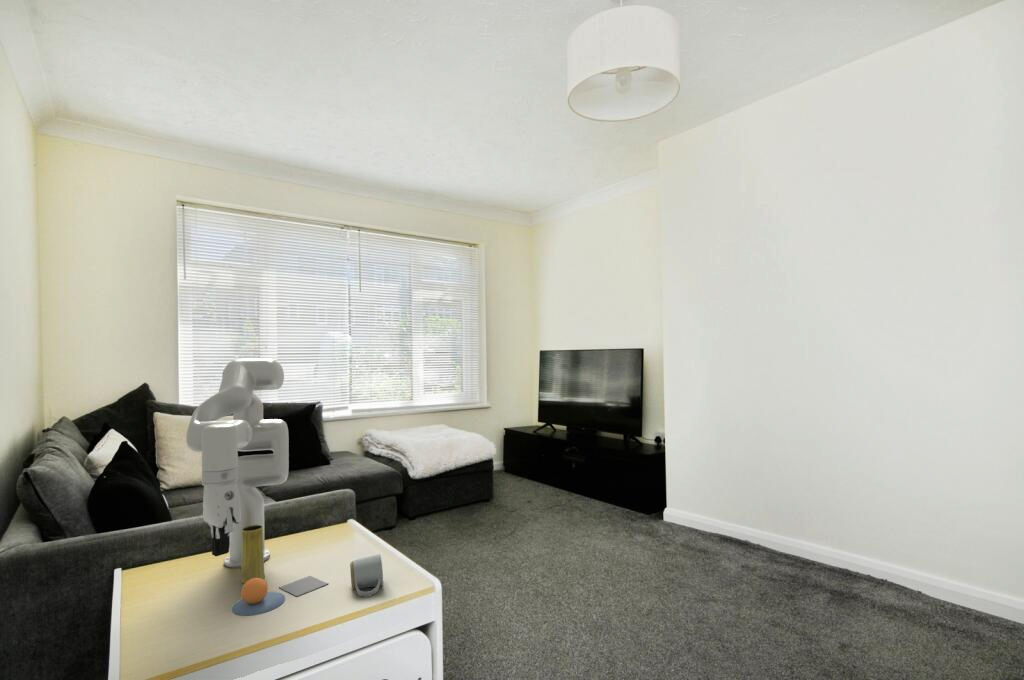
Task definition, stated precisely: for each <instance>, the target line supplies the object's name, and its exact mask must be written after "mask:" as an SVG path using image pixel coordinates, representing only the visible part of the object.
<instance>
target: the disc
mask: <svg viewBox="0 0 1024 680" xmlns="http://www.w3.org/2000/svg"><path fill="white" fill-rule="evenodd" d="M285 601H286V596H285V595H284V594H283V593H281V592H277V591H267V594H266V596H265V598H264V599H263V600H262V601H260V602H259V603H256V604H248V603H246V602H245V601H244V600H243V599H242V598H241V599H239V600H238V601H237V602H235V603H234V604H233V605H232V607H231V611H232V613H233V614H235V615H236V616H247V617H248V616H255V615H261V614H265V613H268V612H270V611H272V610H275V609H277V608H279V607H280V606H282V604H284V603H285Z"/></svg>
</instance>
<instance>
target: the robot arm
mask: <svg viewBox="0 0 1024 680" xmlns="http://www.w3.org/2000/svg"><path fill="white" fill-rule="evenodd" d="M284 380H285V371H284V369H283V367H282V365H281V364H280V363H279V362H278V361H277V360H276V359H273V358H266V357H264V358H240V359H234V360H231V361H230V362H228V363H227V364H226V366H225V368H224V369H223V370H222V378H221V381H220V386H219V389H218V392H217V393H215V394H214V395H211V396H210V397H209V398H207V399H206V400H204V401H203V402H202V403H201V404H199V405H198V406H197V407H196V408H195V410H194V411H193V412H192V415H191V418H190V421H189V423H188V426H187V431H186V437H185V438H186V439H185V440H186V441H185V442H186V444H187V447H188V448H189V449H190V450H191V451H193V452H196V453H199V452H200V453H201V486H203V493H202V495H203V496H202V498H203V499H202V518H203V521H204V522H205V523H207V524H208V526H209V527H210V536H211V555H212V556H214V557H219V556H222V555H225V554H226V555H227V554H228V553H229V555H227V556H226V557H225V558H224V559H223V565H225V566H226V567H228V568H241V561H242V529H243V528H244V527H247V526H252V525H261V526H263V560H264V562H265V561H266V560H268V559H270V556H271V551H270V550H269V549H267V548H265V547H266V546H265V499H264V496H263V495H262V493H261V492H260V491H259V490H258V489H257V487H265V486H274V485H275V486H276V485H281V484H283V483H285V482H287V480H288V477H289V467H290V465H289V464H290V461H289V457H290V453H289V447H290V446H289V443H290V441H289V440H290V439H289V428H288V424H287V422H286V421H284V419H280V418H279V419H278V418H274V419H273V418H270V419H269V418H268V419H264V404H263V402H262V400H261V399H260V398H259V397H258V396H257V395H256V393H254V391H256V392H257V391H275V390H276V391H277V390H279V389H281V388H282V386H283V384H284ZM231 415H232V416H233V417H232V419H226V420H225V419H222V418H225V417H228V416H231ZM254 451H255V452H256V451H257V452H258V451H272V452H273V453H267V454H266V453H265V454H251V455H250V454H249V455H242V456H238V455H239V454H238V452H254Z"/></svg>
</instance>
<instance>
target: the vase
mask: <svg viewBox="0 0 1024 680" xmlns="http://www.w3.org/2000/svg"><path fill="white" fill-rule="evenodd" d="M264 563H265V561H264V560H263V526H261V525H252V526H247V527H244V528H243V529H242V561H241V567H240V581H239V582H240V583H241V584H243V585H244V584H245V583H246V582H247V581H249V580H250V579H253V578H261V579H263V580H265V577H266V576H265V564H264Z"/></svg>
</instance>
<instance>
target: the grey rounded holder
mask: <svg viewBox="0 0 1024 680" xmlns="http://www.w3.org/2000/svg"><path fill="white" fill-rule="evenodd" d="M349 566H350V567H349V568H350V583H351V588H352V589H355V590H356V593H357V594H358V595H359V596H361V597H364V596H366V597H370V596H369V595H371V596H373V595H372V594H374V595H375V594H377V592H378V591H379V588H380V586H382V585H384V573H383V563H382V556H381V554H380V553H379V554H375V555H374V554H373V555H371V556H366V557H362V558H358V559H354V560H352V561H351V562H350V565H349ZM370 587H371V588H372V587H373V589H371V590H370V591H369V590H368V591H363V590H360V589H366V588H370Z"/></svg>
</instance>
